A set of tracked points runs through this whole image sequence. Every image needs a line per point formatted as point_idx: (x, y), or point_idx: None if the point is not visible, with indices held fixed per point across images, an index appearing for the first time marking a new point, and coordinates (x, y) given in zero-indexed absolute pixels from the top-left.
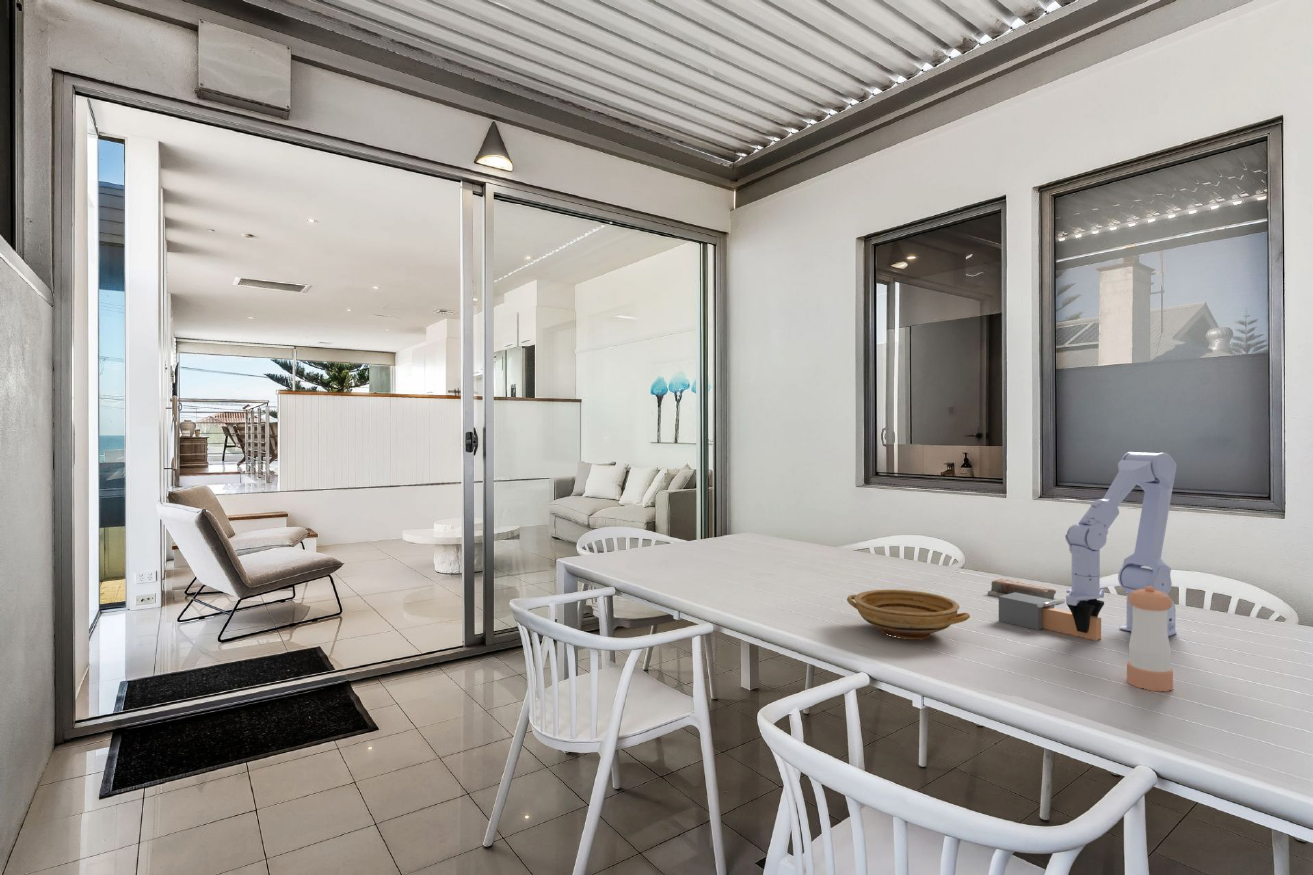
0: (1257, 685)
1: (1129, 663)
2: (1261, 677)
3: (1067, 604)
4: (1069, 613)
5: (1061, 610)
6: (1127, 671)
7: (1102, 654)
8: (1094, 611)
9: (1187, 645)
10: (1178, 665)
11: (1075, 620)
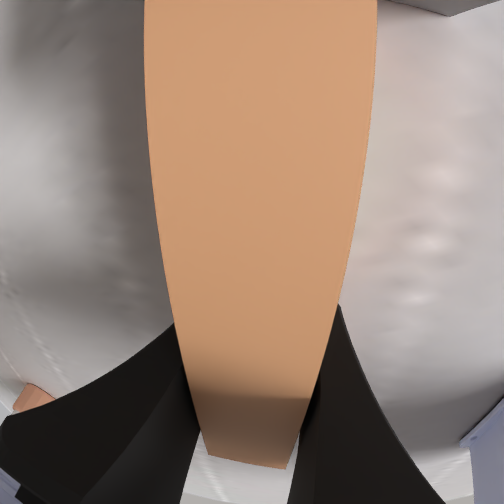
0: (206, 489)
1: (16, 409)
2: (256, 498)
3: (3, 423)
4: (199, 321)
5: (292, 173)
6: (18, 397)
7: (94, 364)
8: (291, 493)
9: (417, 466)
10: (199, 459)
11: (163, 341)
